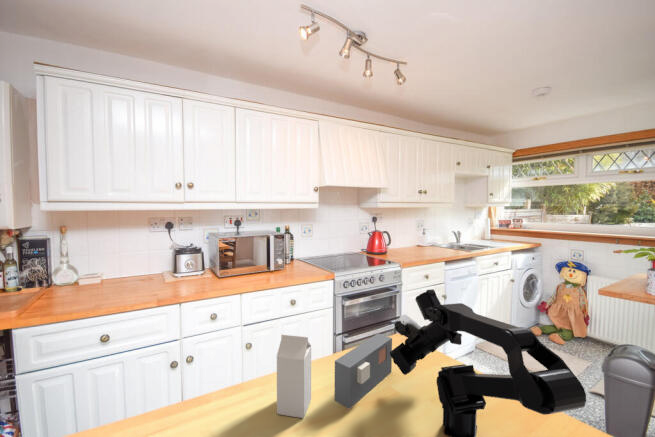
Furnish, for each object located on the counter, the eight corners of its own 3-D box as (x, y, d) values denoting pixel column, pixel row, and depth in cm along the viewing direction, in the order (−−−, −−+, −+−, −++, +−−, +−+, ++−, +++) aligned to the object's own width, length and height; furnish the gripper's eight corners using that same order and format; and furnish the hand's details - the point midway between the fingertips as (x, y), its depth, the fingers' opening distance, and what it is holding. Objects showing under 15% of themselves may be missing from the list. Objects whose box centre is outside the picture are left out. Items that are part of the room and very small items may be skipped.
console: (391, 372, 92) (392, 338, 91) (349, 409, 75) (349, 367, 74) (377, 366, 95) (378, 333, 94) (334, 400, 78) (334, 360, 78)
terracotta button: (385, 359, 89) (385, 346, 89) (378, 364, 86) (378, 351, 86) (380, 357, 90) (380, 344, 90) (373, 362, 87) (373, 349, 87)
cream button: (369, 377, 80) (370, 363, 79) (361, 384, 77) (361, 369, 76) (364, 374, 81) (364, 361, 80) (355, 381, 78) (356, 367, 77)
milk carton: (303, 419, 72) (304, 343, 71) (276, 414, 73) (276, 340, 72) (311, 399, 79) (311, 331, 78) (286, 396, 80) (286, 328, 79)
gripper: (426, 300, 87) (392, 327, 95) (397, 319, 73) (360, 348, 80) (453, 334, 82) (415, 359, 90) (428, 361, 68) (385, 388, 76)
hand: (394, 362), depth 84 cm, fingers closed
